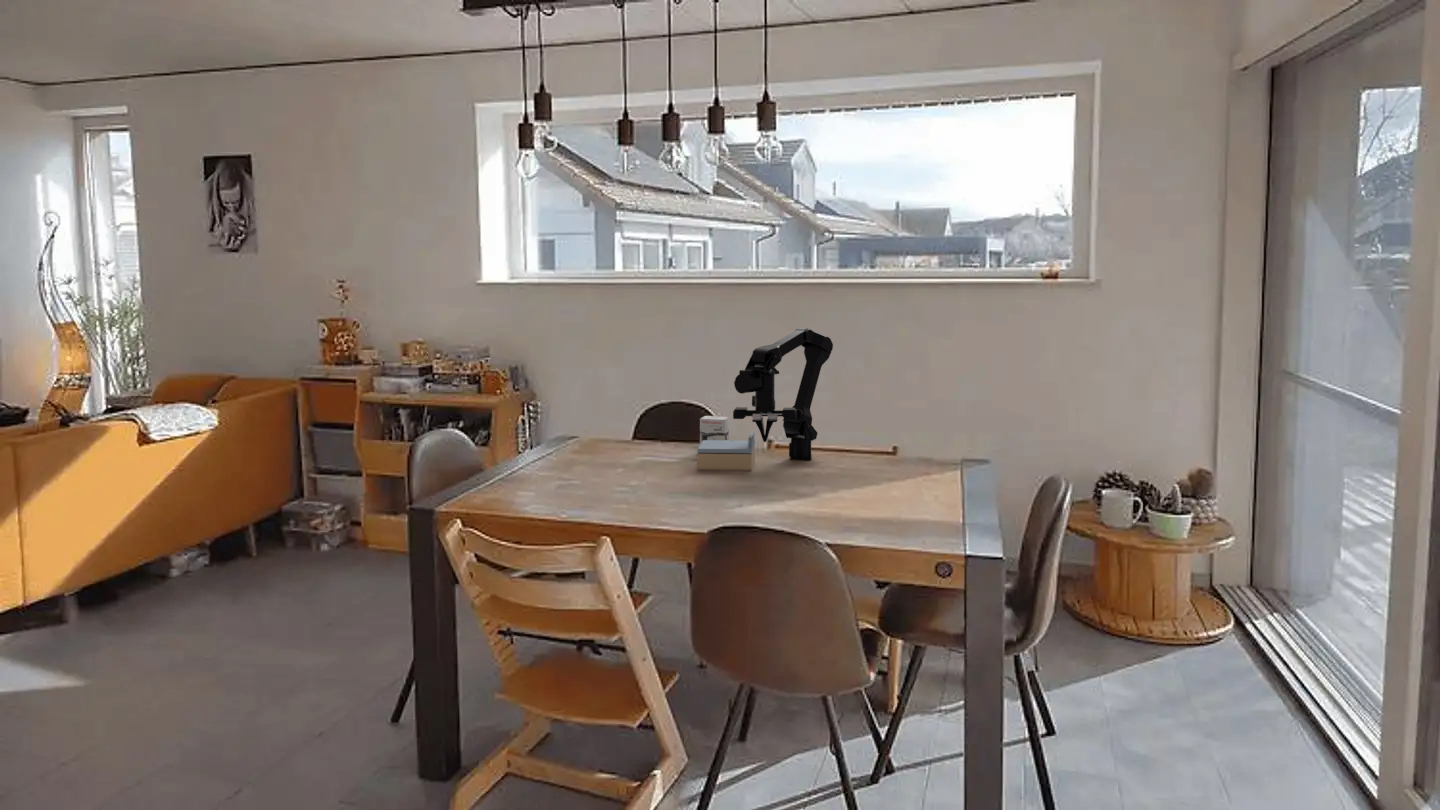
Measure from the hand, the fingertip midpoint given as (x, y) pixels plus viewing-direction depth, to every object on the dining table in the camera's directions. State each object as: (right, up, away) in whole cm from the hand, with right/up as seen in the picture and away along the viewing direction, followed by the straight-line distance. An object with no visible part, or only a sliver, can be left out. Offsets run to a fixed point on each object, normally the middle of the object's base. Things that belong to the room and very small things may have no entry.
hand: (765, 441), depth 314 cm
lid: (-11, -2, +2) cm, 12 cm away
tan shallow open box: (-11, -7, +2) cm, 14 cm away
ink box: (-15, -5, +22) cm, 27 cm away
